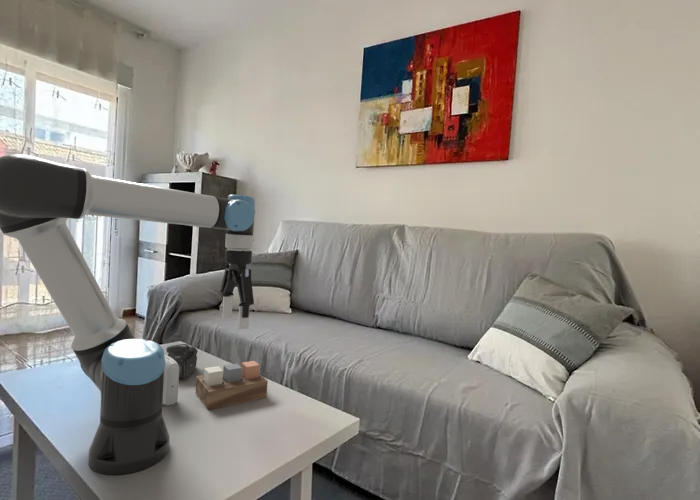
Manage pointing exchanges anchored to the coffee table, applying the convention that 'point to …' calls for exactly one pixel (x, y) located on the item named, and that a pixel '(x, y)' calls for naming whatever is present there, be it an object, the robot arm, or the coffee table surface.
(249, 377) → the terracotta key
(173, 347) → the camera
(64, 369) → the coffee table surface
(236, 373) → the slate key
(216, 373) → the cream short block
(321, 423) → the coffee table surface
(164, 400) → the photo printer
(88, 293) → the robot arm
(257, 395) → the wooden block tray
